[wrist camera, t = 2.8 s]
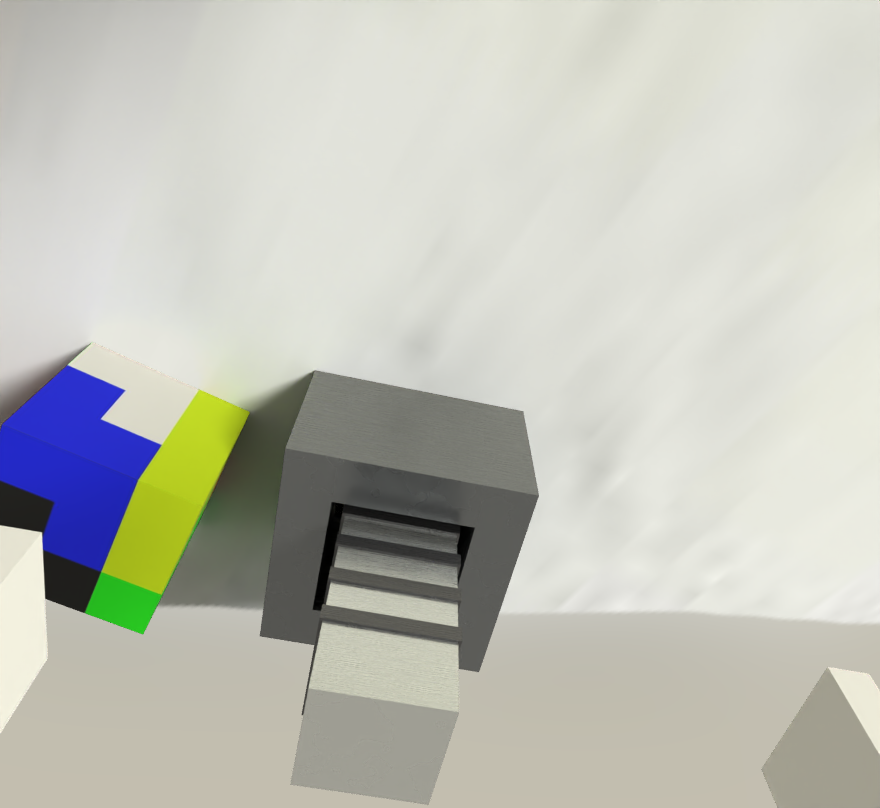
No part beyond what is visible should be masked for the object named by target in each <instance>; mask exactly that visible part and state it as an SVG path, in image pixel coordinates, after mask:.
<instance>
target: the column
mask: <svg viewBox="0 0 880 808" xmlns="http://www.w3.org/2000/svg"><path fill="white" fill-rule="evenodd" d="M459 537H460V525H457V524H452V523H446V522H441V521H435V520H430V519H424V518H419V517H413V516H408V515H402V514H397V513H391V512H386V511H380V510H375V509H369V508H364V507H358V506H353V505H347V504H344V508H343V512H342V518H341V523H340V528H339V533H338V535H337V540H336V545H335V550H334V556H333V561H332V566H331V568H330V572H329V577H328V582H327V588H326V593H325V598H324V604H323V605H322V609H321V614H320V619H319V624H318V629H317V635H316V640H315V646H314V651H313V656H312V662H311V667H310V673H309V678H308V684H307V689H306V694H305V700H304V705H303V711H302V715H303V720H302V725H301V731H300V736H299V741H298V747H297V752H296V758H295V763H294V768H293V774H292V779H291V785H297V786H304V787H311V788H318V789H325V790H332V791H338V792H345V793H352V794H359V795H366V796H373V797H379V798H387V799H393V800H400V801H407V802H414V803H420V804H427V805H428V804H429V801H430V798H431V795H432V792H433V789H434V786H435V783H436V780H437V777H438V774H439V771H440V768H441V765H442V762H443V759H444V756H445V753H446V750H447V747H448V744H449V741H450V738H451V735H452V732H453V729H454V726H455V723H456V720H457V717H458V714H459V660H458V653H459V650H460V647H461V644H462V628H461V627H458V611H459V608H460V604H461V601H462V598H461V589H458V586H457V577H458V573H459V570H460V567H461V555H458V554H457V544H458V540H459Z"/></svg>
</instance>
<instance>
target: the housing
mask: <svg viewBox="0 0 880 808" xmlns="http://www.w3.org/2000/svg"><path fill="white" fill-rule="evenodd" d="M538 497H539V494H538V489H537V483H536V478H535V472H534V467H533V462H532V456H531V451H530V446H529V440H528V435H527V430H526V424H525V419H524V413H523V411H518V410H513V409H508V408H503V407H498V406H493V405H487V404H482V403H477V402H472V401H467V400H462V399H457V398H452V397H447V396H442V395H437V394H432V393H427V392H422V391H416V390H411V389H406V388H401V387H396V386H391V385H386V384H381V383H376V382H371V381H366V380H361V379H356V378H351V377H345V376H340V375H335V374H330V373H325V372H320V371H315V372H314V375H313V377H312V380H311V382H310V385H309V388H308V390H307V393H306V395H305V398H304V401H303V403H302V406H301V409H300V411H299V414H298V416H297V419H296V422H295V424H294V427H293V429H292V432H291V435H290V437H289V440H288V442H287V445H286V448H285V454H284V462H283V469H282V476H281V484H280V491H279V499H278V506H277V513H276V521H275V528H274V535H273V543H272V550H271V558H270V565H269V572H268V580H267V587H266V595H265V602H264V609H263V617H262V624H261V632H260V636H262V637H268V638H274V639H280V640H287V641H292V642H299V643H305V644H311V645H315V640H316V635H317V629H318V624H319V619H320V614H321V609H322V605H323V604H324V598H325V593H326V588H327V582H328V577H329V572H330V568H331V566H332V561H333V556H334V550H335V545H336V540H337V535H338V533H339V528H340V523H341V518H342V515H339V514H335V509H336V504H337V503H341V504H347V505H353V506H358V507H364V508H369V509H375V510H380V511H386V512H391V513H397V514H402V515H408V516H413V517H419V518H424V519H430V520H435V521H441V522H446V523H452V524H457V525H460V537H459V540H458V544H457V554H458V555H461V567H460V570H459V573H458V577H457V586H458V589H461V598H462V601H461V604H460V608H459V611H458V627H461V628H462V644H461V647H460V650H459V653H458V660H459V669H464V670H470V671H476V672H479V670H480V667H481V664H482V662H483V659H484V656H485V653H486V650H487V647H488V644H489V641H490V638H491V635H492V632H493V629H494V626H495V623H496V620H497V617H498V614H499V611H500V609H501V606H502V603H503V600H504V597H505V594H506V591H507V588H508V585H509V582H510V579H511V576H512V573H513V570H514V567H515V564H516V561H517V558H518V556H519V553H520V550H521V547H522V544H523V541H524V538H525V535H526V532H527V529H528V526H529V523H530V520H531V517H532V514H533V511H534V508H535V505H536V502H537V500H538Z"/></svg>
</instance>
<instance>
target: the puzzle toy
mask: <svg viewBox="0 0 880 808" xmlns="http://www.w3.org/2000/svg"><path fill="white" fill-rule="evenodd" d="M249 414H250V412H249V411H246V410H244V409H242V408H240V407H237V406H235V405H233V404H231V403H228V402H226V401H224V400H222V399H219V398H217V397H215V396H213V395H210V394H208V393H206V392H204V391H201V390H199V389H197V388H195V387H192V386H190V385H188V384H186V383H183V382H181V381H179V380H177V379H174V378H172V377H170V376H168V375H165V374H163V373H161V372H159V371H156V370H154V369H152V368H150V367H147V366H145V365H143V364H141V363H138V362H136V361H134V360H132V359H129V358H127V357H125V356H123V355H120V354H118V353H116V352H114V351H111V350H109V349H107V348H105V347H102V346H100V345H98V344H96V343H93V342H92V343H91V344H90V345H89V346H88V347H87V348H86V349H85V350H83V351H82V352H81V353H80V354H79V355H78V356H77V357H76V358H75V359H73V360H72V361H71V362H70V363H69V364H68V365H67V366H66V367H65V368H64V369H62V370H61V371H60V372H59V373H58V374H57V375H56V376H55V377H54V378H52V379H51V380H50V381H49V382H48V383H47V384H46V385H45V386H44V387H43V388H41V389H40V390H39V391H38V392H37V393H36V394H35V395H34V396H33V397H31V398H30V399H29V400H28V401H27V402H26V403H25V404H24V405H23V406H22V407H20V408H19V409H18V410H17V411H16V412H15V413H14V414H13V415H12V416H10V417H9V418H8V419H7V420H6V421H5V422H4V423H3V424H2V426H1V430H0V525H1V526H7V527H13V528H19V529H25V530H31V531H36V532H42V545H43V566H44V587H45V599H47V600H50V601H53V602H56V603H58V604H61V605H64V606H66V607H69V608H72V609H75V610H77V611H80V612H83V613H86V614H88V615H91V616H94V617H97V618H99V619H102V620H105V621H108V622H110V623H113V624H116V625H119V626H121V627H124V628H127V629H130V630H132V631H135V632H138V633H141V634H144V631H145V630H146V628H147V625H148V623H149V621H150V619H151V618H152V615H153V613H154V611H155V609H156V607H157V605H158V603H159V601H160V599H161V597H162V595H163V593H164V591H165V589H166V587H167V585H168V583H169V581H170V579H171V577H172V575H173V573H174V571H175V569H176V567H177V565H178V563H179V561H180V559H181V557H182V555H183V553H184V551H185V549H186V547H187V545H188V543H189V541H190V539H191V537H192V535H193V533H194V531H195V529H196V527H197V525H198V523H199V521H200V519H201V517H202V515H203V512H204V510H205V508H206V506H207V504H208V502H209V499H210V497H211V495H212V493H213V491H214V489H215V487H216V484H217V482H218V480H219V478H220V476H221V474H222V472H223V469H224V467H225V465H226V463H227V461H228V459H229V457H230V454H231V452H232V450H233V448H234V446H235V444H236V442H237V439H238V437H239V435H240V433H241V431H242V429H243V427H244V424H245V422H246V420H247V418H248V416H249Z"/></svg>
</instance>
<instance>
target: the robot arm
mask: <svg viewBox="0 0 880 808" xmlns="http://www.w3.org/2000/svg"><path fill="white" fill-rule="evenodd" d="M47 652H48V651H47V629H46V608H45V587H44V566H43V545H42V532H36V531H31V530H25V529H19V528H13V527H7V526H1V525H0V733H1V731H2V730H3V728H4V727H5V725H6V724H7V722H8V720H9V719H10V717H11V716H12V714H13V712H14V711H15V709H16V708H17V706H18V705H19V703H20V701H21V700H22V698H23V697H24V695H25V693H26V692H27V690H28V688H29V687H30V685H31V684H32V682H33V681H34V679H35V678H36V676H37V674H38V673H39V671H40V670H41V668H42V666H43V665H44V663H45V662H46V660H47V658H48V653H47ZM762 772H763V774H764V777H765V779H766V781H767V784H768V786H769V788H770V791H771V793H772V796H773V798H774V800H775V803H776V805H777V808H880V690H879V689H878V687H877V686H876V684H875V682H874V681H873V679H872V678H871V676H870V675H869V674H866V673H861V672H855V671H849V670H843V669H837V668H832V667H827V669H826V670H825V672H824V673H823V675H822V676H821V678H820V680H819V681H818V683H817V684H816V686H815V687H814V689H813V691H812V692H811V693H810V695H809V697H808V698H807V700H806V701H805V703H804V704H803V706H802V707H801V709H800V710H799V712H798V713H797V715H796V717H795V718H794V720H793V721H792V723H791V724H790V726H789V727H788V729H787V730H786V732H785V733H784V735H783V737H782V738H781V740H780V741H779V743H778V744H777V746H776V747H775V749H774V750H773V752H772V753H771V755H770V757H769V758H768V760H767V761H766V763H765V764H764V766H763V768H762Z"/></svg>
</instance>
